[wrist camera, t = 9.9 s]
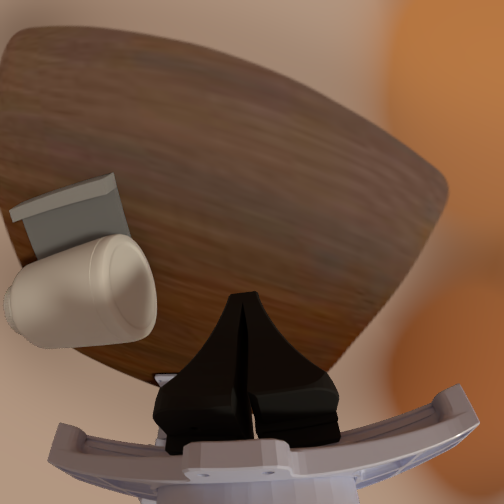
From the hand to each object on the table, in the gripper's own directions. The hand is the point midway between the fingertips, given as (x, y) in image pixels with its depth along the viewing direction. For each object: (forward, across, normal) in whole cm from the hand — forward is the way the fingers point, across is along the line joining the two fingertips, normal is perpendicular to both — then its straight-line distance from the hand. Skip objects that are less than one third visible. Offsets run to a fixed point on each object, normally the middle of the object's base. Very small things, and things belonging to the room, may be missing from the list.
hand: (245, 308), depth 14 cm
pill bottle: (+5, +8, +1) cm, 9 cm away
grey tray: (+9, +15, 0) cm, 18 cm away
